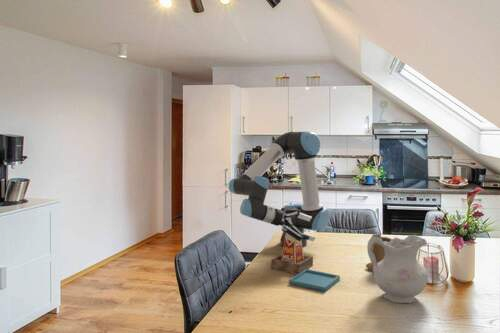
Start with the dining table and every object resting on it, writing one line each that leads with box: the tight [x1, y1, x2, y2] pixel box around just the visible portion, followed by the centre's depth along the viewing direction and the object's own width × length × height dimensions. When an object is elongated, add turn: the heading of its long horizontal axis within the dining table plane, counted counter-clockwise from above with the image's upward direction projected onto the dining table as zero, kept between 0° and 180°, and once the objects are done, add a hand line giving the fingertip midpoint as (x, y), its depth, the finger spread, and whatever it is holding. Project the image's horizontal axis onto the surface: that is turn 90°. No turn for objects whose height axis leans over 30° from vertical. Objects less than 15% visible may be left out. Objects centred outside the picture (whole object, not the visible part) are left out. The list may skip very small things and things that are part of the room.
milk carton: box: [281, 227, 304, 263], centre depth 191 cm, size 9×9×20 cm
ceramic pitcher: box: [366, 233, 429, 304], centre depth 155 cm, size 22×20×25 cm
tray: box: [288, 268, 341, 293], centre depth 173 cm, size 16×16×2 cm
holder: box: [270, 253, 314, 275], centre depth 192 cm, size 14×14×4 cm
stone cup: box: [365, 236, 393, 271], centre depth 188 cm, size 15×12×15 cm
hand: (312, 228), depth 195 cm, fingers open, 13 cm apart
